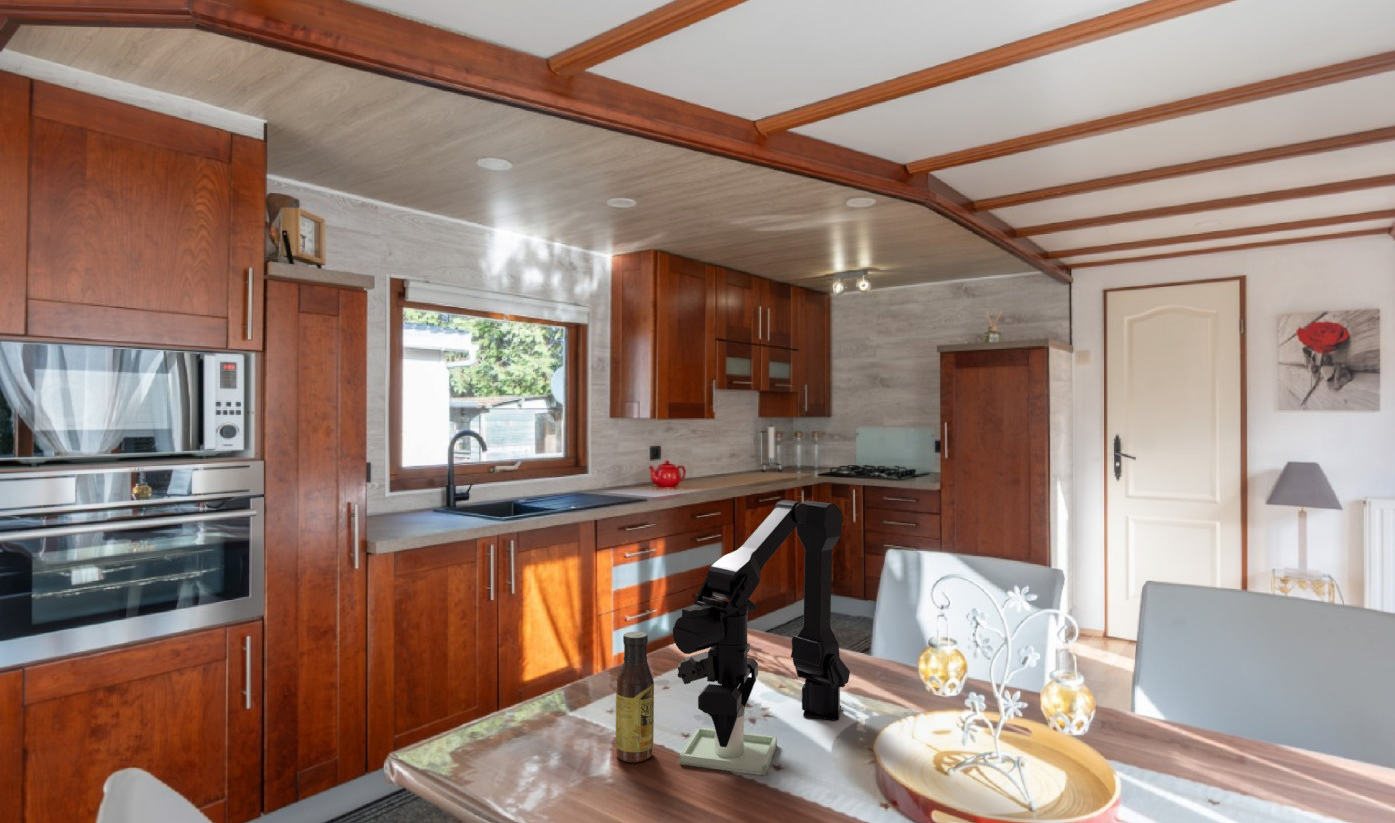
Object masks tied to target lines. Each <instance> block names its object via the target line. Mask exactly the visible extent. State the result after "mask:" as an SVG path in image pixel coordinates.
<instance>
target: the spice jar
mask: <svg viewBox="0 0 1395 823" xmlns="http://www.w3.org/2000/svg"><path fill="white" fill-rule="evenodd" d="M745 710H746V707H744V706H743V705H742V704H741V710H740V712H739V715H738V718H737V720H736V723H735V726H734V729H733V731H732V734H731V737H730V740H729V742H728V745H727V747H721V746H720V745H719V741H718V737H717V734H716V730H715V753H716V754H717V755H718V756H720V757H724V758H736V757H739V756H741V755H743V753H744V733H745V713H746V711H745Z"/></svg>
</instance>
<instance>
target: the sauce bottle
mask: <svg viewBox="0 0 1395 823" xmlns="http://www.w3.org/2000/svg"><path fill="white" fill-rule="evenodd" d="M648 639H649V638H648V633H646V632H644V631H629V632H625V633H624V634H623V637H622V642H623V646H624V647H623V648H624V651H623V663H622V665H621V667H620V668H619V670H618V672H617V675H616V676H617V677H616V692H615V748H616V750H615V753H616V754H615V755H616V757H617V758H618V759H619V760H621V761H622V762H627V763H640V762H643V761H646V760H648V759H650V758H651V757H652V756H653V748H654V730H655V728H654V727H655V726H654V722H655V721H654V720H655V714H654V711H655V681H654V678H653V675H652V672H651V670H650V666H649V663H648V657H647V655H648V654H647V651H648V650H647V649H648V648H647V645H648V643H649V642H648V641H649V640H648Z"/></svg>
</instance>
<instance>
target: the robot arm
mask: <svg viewBox="0 0 1395 823" xmlns="http://www.w3.org/2000/svg"><path fill="white" fill-rule="evenodd" d="M843 517H844V516H843V512H842V510H841V508H839V506H838V505H837V504H836V503H830V502H824V501H823V502H822V501H815V500H814V501H812V500H805V501H803V502H801V501H795V500H788V499H786V500H785V499H781V500H780V501H777V502H776V503H775V505H774V507H773V510H772V511H771V513H770V514H769V515H767V517H766V518H765V519H764V520H763V521H762V523H760V525H759V526H758V527H757V529H755V531H754V532H752V534H751V535H750V536H749V537H748V538H747V540H746V541H744V543H743V544H742V545H741V546H740V547H739V548H737V550H734V551H732V552H730V553H727V554H725V555H723V556H722V557H721V558H719V559H718V560H717V561H715V562H714V563H713V564H711V565H710V567H709V569H708V570H707V573H706V577H705V579H704V581H703V583H702V586H701V588H700V589H699V590H698V591H699V592H698V593H697V595H696V598H695V599H694V602H693V604H694V605H695V607H685V608H682V609H681V616H680V617H678V618H677V619H676V621H675V623H674V626H673V628H672V637H673V641H674V644H675V645H676V647H677V649H678V650H679V651H680V652H681V653H683V654H685V655H690V654H693V653H696V654H693V655H690V656H687V657H685V658H683V659H682V660H681V661H680V662H679V663H678V665H677V671H678V673H677V677H678V679H681V680H682V682H683V684H684V685H689V684H691V682H694V681H699V680H702V679H705V678H707V680H706V681H707V682H709V683H708V685H706V686H705V687H704V688H703V689H702V691H701V692H700V693H699V694H698V697H697V709H698V710H700V711H702V712H703V713H705V714H707V715H708V716H709V717H710V718H711V720H712V722H713V725H714V729H715V730H716V734H717V737H718V741H719V745H720V746H721V747H727V745H728V742H729V740H730V737H731V734H732V731H733V729H734V726H735V723H736V720H737V718H738V715H739V712H740V710H741V704H742V705H743V706H744V707H745V708H746V706H747V704H748V701H749V699H750V696H751V694H752V692H753V689H754V687H755V684H756V683H757V682H756V681H757V677H758V676H759V663H758V662H757V660H756V659H755V658H754V657H748V653H749V652H750V650H751V643H748V612H752V611H755V610H757V605H756V604H755V603H754V602H752V601H751V600H750V598H751V596H752V595H753V593H754V592H755V590H756V588H757V586H758V585H759V584H760V583H761V575H762V574H761V573H762V569H763V568H764V566H765V565H766V563H767V562H768V561H769V560H770V559H771V558H772V556H773V555H775V553H776V552H777V550H778V549H779V548H780V547H781V546H782V544H784V542H785V541H786V540H787V539H788V537H789V536H790V535H791V534H792V533H793V531H794V530H795V529H796V534H797V536H798V539H799V541H800V543H801V545H802V546H803V548H804V573H803V574H804V575H803V577H804V581H803V582H804V583H803V625H802V628H801V629H800V630H799V632H798V634H797V635H793V636H792V638H791V646H792V647H791V654H790V658H791V659H792V662H793V663H792V664H793V666H794V668H795V672H796V676H797V678H802V679H804V684H803V685H802V688H801V709H802V711H803V715H802V716H803V717H804V718H810V719H819V720H828V721H829V720H830V721H839V720H840V717H841V716H840V715H841V711H842V705H841V688H845V686H846V684H848V683H849V680H850V675H851V671H850V669H849V668H848V667H847V666H846V664H845V663H844V662H843V660H842V659H841V657H840V645H839V642H838V639H837V638H836V636H835V634H834V632H833V630H832V628H831V616H832V615H831V614H832V613H831V610H832V609H831V608H832V566H833V565H832V562H833V561H832V558H833V557H832V556H833V549H834V547H835V546H836V544H837V543H838V541H839V539H840V538H841V536H842V534H841V533H842V527H843V520H844V518H843ZM715 597H717V598H715ZM719 598H721V599H719ZM723 599H725V600H723ZM727 600H728V601H727ZM707 649H708V651H704V650H707ZM701 651H704V652H701ZM697 652H700V653H697ZM750 675H751V676H750ZM710 682H711V683H712V684H711V683H710ZM715 682H716V683H717V684H714V683H715Z"/></svg>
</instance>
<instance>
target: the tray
mask: <svg viewBox="0 0 1395 823" xmlns="http://www.w3.org/2000/svg"><path fill="white" fill-rule="evenodd" d="M777 747H778V736H774V735H765V734H756V733H750V732H744V753H743V755H741V756H739V757H736V758H724V757H720V756H718V755H717V754H716V753H715V728H707V727H698V726H697V727H696V729H695V730H694V732H693V734H692V735H691V736H690V738H689V740H688V741H687V743H686V745H685V746H684V747H683V749H682V750H681V752H680V754H679V765H683V766H690V767H698V768H706V769H713V770H721V771H728V772H735V773H741V774H742V773H743V774H750V775H751V774H752V775H757V776H765V777H766V776H767V773H768V770H769V768H770V766H771V763H772V759H773V757H774V754H775V752H776V749H777Z"/></svg>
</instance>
